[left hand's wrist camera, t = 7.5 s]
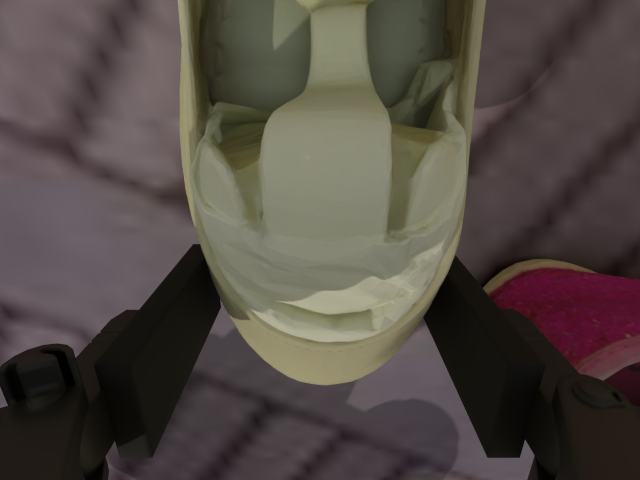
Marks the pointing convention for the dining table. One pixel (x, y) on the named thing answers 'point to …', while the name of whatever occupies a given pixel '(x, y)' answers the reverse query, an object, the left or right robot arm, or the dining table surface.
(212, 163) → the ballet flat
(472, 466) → the dining table surface
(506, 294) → the shoe
